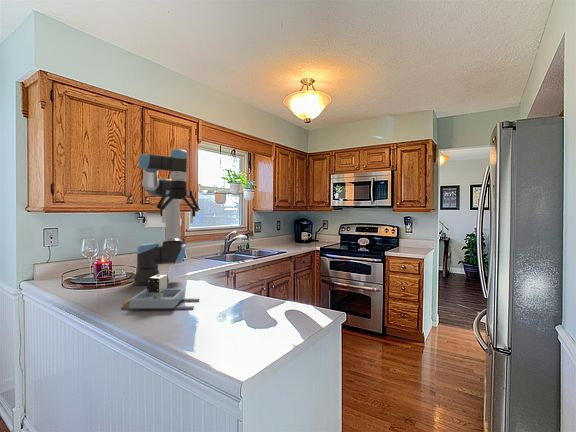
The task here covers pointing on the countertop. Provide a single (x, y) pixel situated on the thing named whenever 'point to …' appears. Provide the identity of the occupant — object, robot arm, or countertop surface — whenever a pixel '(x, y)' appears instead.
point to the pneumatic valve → (157, 285)
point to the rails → (127, 307)
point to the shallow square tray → (146, 299)
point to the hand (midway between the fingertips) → (177, 223)
